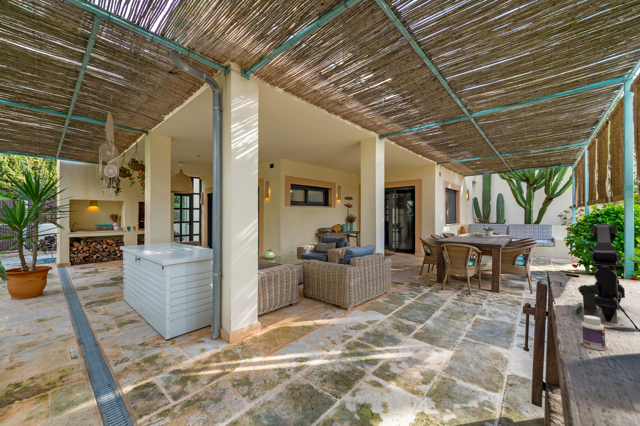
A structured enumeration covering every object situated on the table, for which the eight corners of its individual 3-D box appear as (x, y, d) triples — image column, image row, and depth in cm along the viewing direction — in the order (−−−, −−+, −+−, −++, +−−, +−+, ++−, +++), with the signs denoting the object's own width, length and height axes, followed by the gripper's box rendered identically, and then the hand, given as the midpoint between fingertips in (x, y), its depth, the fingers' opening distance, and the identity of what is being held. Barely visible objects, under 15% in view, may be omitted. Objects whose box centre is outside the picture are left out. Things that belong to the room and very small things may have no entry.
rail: (579, 308, 125) (578, 302, 126) (603, 312, 119) (603, 306, 119) (572, 316, 116) (572, 309, 116) (598, 321, 110) (597, 313, 110)
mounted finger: (584, 307, 124) (583, 290, 124) (597, 309, 120) (595, 292, 121) (583, 309, 122) (582, 291, 122) (596, 311, 119) (594, 293, 119)
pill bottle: (609, 352, 84) (606, 321, 85) (585, 348, 87) (583, 318, 87) (602, 345, 89) (600, 316, 89) (580, 342, 91) (578, 313, 92)
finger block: (603, 321, 109) (601, 302, 109) (617, 324, 106) (616, 304, 106) (602, 323, 107) (600, 303, 108) (617, 326, 104) (615, 305, 104)
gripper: (583, 274, 119) (585, 309, 119) (574, 280, 108) (577, 319, 107) (620, 277, 111) (623, 315, 110) (615, 284, 99) (618, 326, 98)
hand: (609, 318), depth 107 cm, fingers open, 9 cm apart
